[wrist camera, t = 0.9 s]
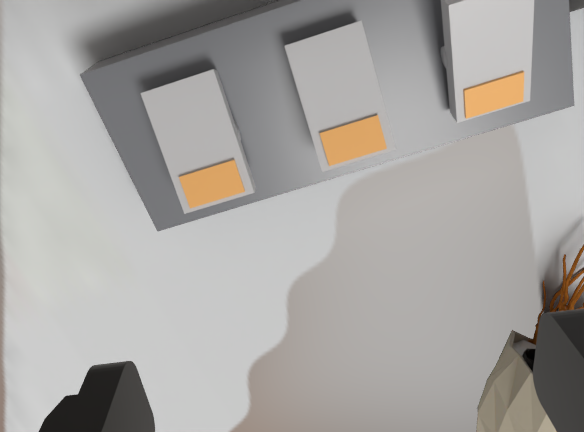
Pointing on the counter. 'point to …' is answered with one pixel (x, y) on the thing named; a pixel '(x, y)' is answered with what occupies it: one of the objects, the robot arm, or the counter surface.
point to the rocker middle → (340, 96)
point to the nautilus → (521, 376)
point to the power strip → (285, 98)
